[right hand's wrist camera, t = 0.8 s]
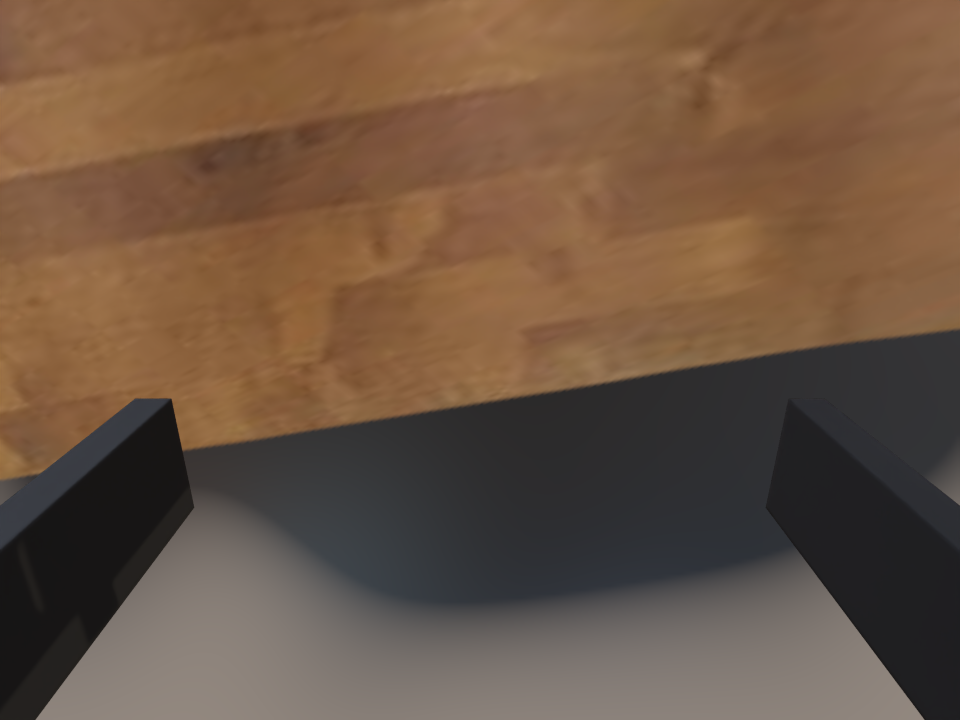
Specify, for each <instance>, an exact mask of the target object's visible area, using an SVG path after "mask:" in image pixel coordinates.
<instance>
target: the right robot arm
mask: <svg viewBox="0 0 960 720" xmlns="http://www.w3.org/2000/svg"><path fill="white" fill-rule="evenodd" d="M193 508H194V504H193V500H192V495H191V490H190V485H189V481H188V476H187V471H186V466H185V461H184V457H183V452H182V447H181V442H180V438H179V433H178V428H177V423H176V418H175V414H174V409H173V404H172V399H134V400H133V401H132V402H130V403H129V404H128V405H127V406H125V407H124V408H123V409H122V410H120V411H119V412H118V413H117V414H115V415H114V416H113V417H112V418H110V419H109V420H108V421H106V422H105V423H104V424H103V425H101V426H100V427H99V428H98V429H96V430H95V431H94V432H93V433H91V434H90V435H89V436H88V437H86V438H85V439H84V440H82V441H81V442H80V443H79V444H77V445H76V446H75V447H74V448H72V449H71V450H70V451H69V452H67V453H66V454H65V455H64V456H62V457H61V458H60V459H59V460H57V461H56V462H55V463H53V464H52V465H51V466H50V467H48V468H47V469H46V470H45V471H43V472H42V473H41V474H40V475H38V476H37V477H36V478H35V479H33V480H32V481H31V482H30V483H28V484H27V485H26V486H24V487H23V488H22V489H21V490H19V491H18V492H17V493H16V494H14V495H13V496H12V497H11V498H9V499H8V500H7V501H5V502H4V503H3V504H2V505H0V720H36V718H37V717H38V716H39V714H40V713H41V712H42V710H43V709H44V707H45V706H46V705H47V703H48V702H49V701H50V699H51V698H52V697H53V695H54V694H55V693H56V691H57V690H58V689H59V687H60V686H61V685H62V683H63V682H64V681H65V679H66V678H67V677H68V675H69V674H70V673H71V671H72V670H73V669H74V667H75V666H76V665H77V663H78V662H79V661H80V659H81V658H82V657H83V655H84V654H85V653H86V651H87V650H88V649H89V647H90V646H91V645H92V643H93V642H94V641H95V639H96V638H97V637H98V635H99V634H100V633H101V631H102V630H103V629H104V627H105V626H106V625H107V623H108V622H109V621H110V619H111V618H112V617H113V615H114V614H115V613H116V611H117V610H118V609H119V607H120V606H121V605H122V603H123V602H124V601H125V599H126V598H127V596H128V595H129V594H130V593H131V591H132V590H133V589H134V587H135V586H136V585H137V583H138V582H139V581H140V579H141V578H142V577H143V575H144V574H145V573H146V571H147V570H148V569H149V567H150V566H151V565H152V563H153V562H154V561H155V559H156V558H157V557H158V555H159V554H160V553H161V551H162V550H163V548H164V547H165V546H166V544H167V543H168V542H169V540H170V539H171V538H172V536H173V535H174V534H175V532H176V531H177V530H178V528H179V527H180V526H181V524H182V523H183V522H184V520H185V519H186V518H187V516H188V515H189V514H190V512H191V511H192V510H193ZM766 508H767V510H768V511H769V512H770V514H771V515H772V516H773V518H774V519H775V520H776V522H777V523H778V524H779V526H780V527H781V528H782V530H783V531H784V532H785V534H786V535H787V536H788V538H789V539H790V540H791V542H792V543H793V544H794V546H795V547H796V549H797V550H798V551H799V553H800V554H801V555H802V557H803V558H804V559H805V561H806V562H807V563H808V565H809V566H810V567H811V569H812V570H813V571H814V573H815V574H816V575H817V577H818V578H819V579H820V581H821V582H822V583H823V585H824V586H825V587H826V589H827V590H828V591H829V593H830V594H831V595H832V597H833V598H834V599H835V601H836V602H837V603H838V605H839V606H840V607H841V609H842V610H843V611H844V613H845V614H846V615H847V617H848V618H849V619H850V621H851V622H852V623H853V625H854V626H855V627H856V629H857V630H858V631H859V633H860V634H861V635H862V637H863V638H864V639H865V641H866V642H867V643H868V645H869V646H870V647H871V649H872V650H873V651H874V653H875V654H876V655H877V657H878V658H879V659H880V661H881V662H882V663H883V665H884V666H885V667H886V669H887V670H888V671H889V673H890V674H891V675H892V677H893V678H894V679H895V681H896V682H897V683H898V685H899V686H900V687H901V689H902V690H903V691H904V693H905V694H906V695H907V697H908V698H909V699H910V701H911V702H912V703H913V705H914V706H915V708H916V709H917V710H918V712H919V713H920V714H921V716H922V717H923V718H924V720H960V505H958V504H957V503H956V502H954V501H953V500H952V499H951V498H949V497H948V496H947V495H946V494H944V493H943V492H942V491H941V490H939V489H938V488H937V487H936V486H934V485H933V484H932V483H930V482H929V481H928V480H927V479H925V478H924V477H923V476H922V475H920V474H919V473H918V472H917V471H915V470H914V469H913V468H912V467H910V466H909V465H908V464H907V463H905V462H904V461H903V460H901V459H900V458H899V457H898V456H896V455H895V454H894V453H893V452H891V451H890V450H889V449H888V448H886V447H885V446H884V445H883V444H881V443H880V442H879V441H878V440H876V439H875V438H874V437H872V436H871V435H870V434H869V433H867V432H866V431H865V430H864V429H862V428H861V427H860V426H858V425H857V424H856V423H855V422H853V421H852V420H851V419H850V418H848V417H847V416H846V415H845V414H843V413H842V412H841V411H840V410H838V409H837V408H836V407H835V406H833V405H832V404H831V403H829V402H828V401H827V400H826V399H788V404H787V409H786V414H785V419H784V423H783V428H782V433H781V438H780V442H779V447H778V452H777V457H776V461H775V466H774V471H773V476H772V480H771V485H770V490H769V495H768V500H767V504H766Z"/></svg>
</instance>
